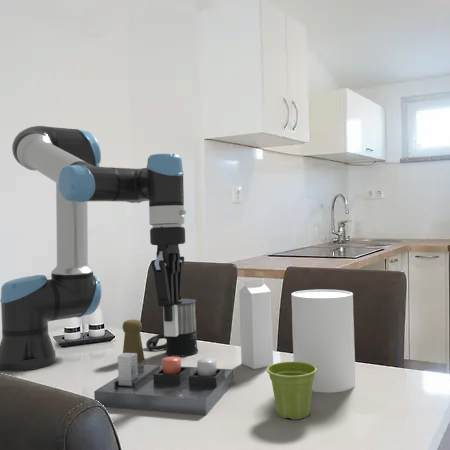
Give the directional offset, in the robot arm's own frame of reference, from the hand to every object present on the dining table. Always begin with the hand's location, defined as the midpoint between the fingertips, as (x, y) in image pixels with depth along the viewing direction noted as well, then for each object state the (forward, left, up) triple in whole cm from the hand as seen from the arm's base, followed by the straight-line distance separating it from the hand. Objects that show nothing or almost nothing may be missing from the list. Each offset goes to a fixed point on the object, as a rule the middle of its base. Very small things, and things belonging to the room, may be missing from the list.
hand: (171, 335), depth 109 cm
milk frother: (-15, +35, -13) cm, 40 cm away
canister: (+31, +14, -13) cm, 36 cm away
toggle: (-8, -5, -10) cm, 13 cm away
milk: (+13, +25, -13) cm, 31 cm away
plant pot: (+27, -6, -13) cm, 30 cm away
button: (0, 0, -8) cm, 8 cm away
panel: (-1, 0, -13) cm, 13 cm away
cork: (-21, +23, -13) cm, 34 cm away
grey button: (+8, 0, -8) cm, 11 cm away
